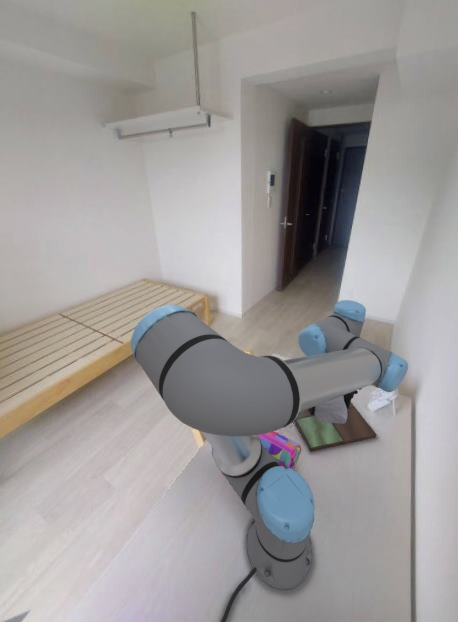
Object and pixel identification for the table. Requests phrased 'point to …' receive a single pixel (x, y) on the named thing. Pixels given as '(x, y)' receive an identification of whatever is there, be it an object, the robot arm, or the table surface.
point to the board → (333, 430)
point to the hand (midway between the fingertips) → (328, 408)
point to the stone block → (332, 411)
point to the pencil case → (281, 449)
